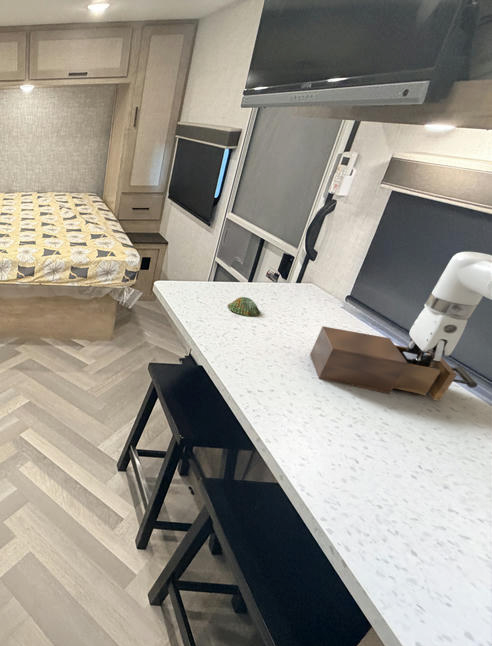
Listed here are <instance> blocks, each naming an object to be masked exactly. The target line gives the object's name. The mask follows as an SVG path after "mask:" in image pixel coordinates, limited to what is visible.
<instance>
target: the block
mask: <svg viewBox="0 0 492 646" xmlns="http://www.w3.org/2000/svg"><path fill="white" fill-rule="evenodd" d="M417 355H418V354H413V353H408V352H403V354H402V356H403V357H404V358H405V360H406V361H407V362H408V363H409V364H410V363H411V361H412V360H413V359H416V357H417ZM424 355H425V354H424ZM424 355H423V356H424ZM430 365H431V364H430Z"/></svg>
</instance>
